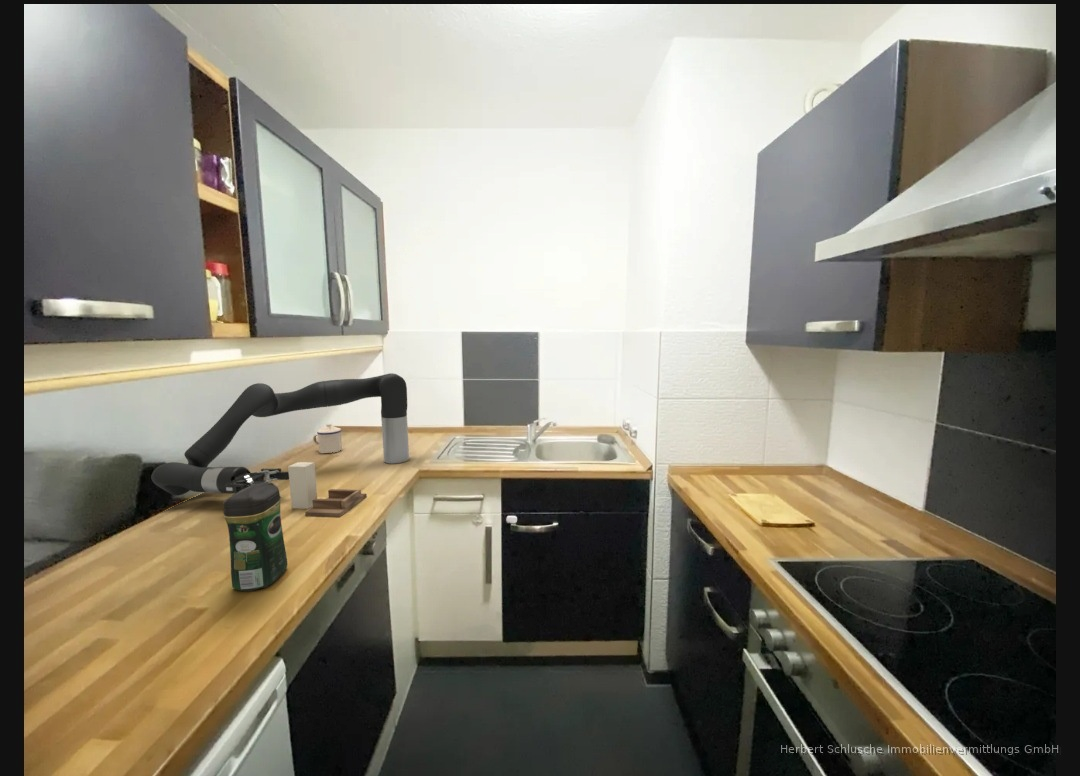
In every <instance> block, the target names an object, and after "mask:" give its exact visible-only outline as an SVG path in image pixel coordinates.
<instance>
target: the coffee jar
mask: <svg viewBox="0 0 1080 776" xmlns="http://www.w3.org/2000/svg"><path fill="white" fill-rule="evenodd" d="M222 506H223V517H224V521H225V522H226V525H227V529H228V539H229V541H228V542H229V555H230V576H231V579H230V580H231V587H232V588H233V589H234V590H237V591H241V592H252V591H253V590H254V591H256V590H259V589H264V588H267V587H268V586H270V585H272V584H273V583H274V582H276V581H277V580H278V579H279V578H280V577H281V576H282V574H283V573H284V572H285V571H286V570H287V567H288V558H287V551H286V545H285V539H284V532H283V526H282V518H281V517H282V516H281V495H280V489H279V487H278V486H277V485H276V484H274V483H273V482H269V483H256V484H251V486H249V487H247V488H245V489H243V490H241V491H239V492H237V493H236V494H233V495H232V494H231V496H229V497H227V498H226V499H224V501H223V504H222Z"/></svg>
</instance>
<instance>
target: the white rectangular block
mask: <svg viewBox="0 0 1080 776" xmlns="http://www.w3.org/2000/svg"><path fill="white" fill-rule="evenodd" d="M315 467H316V466H315V462H307V461H305V462H304V461H302V462H301V461H297V462H295V463H293V464H290V465H288V466H287V470H288V471H287V472H289V482H288V483H289V492H290V501H291V505H290V506H291V509H300V510H301V509H304V510H310V509H311V508H313V502H312V500H314V499H318V493H317V490H318V489H317V480H316V468H315Z"/></svg>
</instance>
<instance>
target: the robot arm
mask: <svg viewBox="0 0 1080 776" xmlns="http://www.w3.org/2000/svg"><path fill="white" fill-rule="evenodd" d="M407 389H408V388H407V382H406V380H405V378H403V377H402V376H401V375H399V374H396V373H393V372H391V373H386V374H381V375H376V376H371V377H368V378H344V379H343V378H342V379H341V378H340V379H330V380H320V381H316V382H314V383H311V384H309V385H306V386H304V387H302V388H300V389H297V390H295V391H290V392H281V393H280V392H279V393H278V392H277V393H275V391H274V390H273V388H272V387H271V386H270V385H268V384H266V383H260V382H258V383H253V384H251V385H249V386H247V387H246V388H245V389H244V390H243V391H242V392H241V394H240V395H239V396H238V398H237V399H236V400H235V401H234V402H233V404H231V406H230V407H229V408H228V409H227V410H226V412H225V413H224V414H223V415H222V416H221V417H220V419H218V421H216V423H215V424H214V425H212V427H210V429H208V430H207V431H206V432H205V433H204V434H203V435H202V436H201V437H200V438H199V439H197V441H195V442H194V443H193V444H192V445H191V446H190V447H188V449H186V451H185V452H184V453H183V455H184V458H185V459H186V460H187V463H184V462H176V461H175V462H174V461H173V462H172V461H171V462H165V463H163V464H161V465H159V466H157V467H156V468H155V469H153V471H152V473H151V475H150V477H151V481H152V483H153V484H154V485H155V486H157V487H159V488H160V489H162V490H164V491H165V492H167V493H169V494H171V495H173V496H177V497H178V496H182V495H185V494H187V493H188V492H190V491H191V492H195V493H212V494H231V495H232V494H233V495H234V494H236V493H237V492H239V491H241V490H243V489H245V488H247V487H249V486H251V484H256V483H271V481H278V480H279V481H280V480H281V481H282V480H283V481H288V480H289V471H282V468H261V469H260V471H258V470H257V471H256V470H255V471H250V470H249V469H248V468H247V467H244V466H213V467H212V466H211V467H210V466H209V464H211V463H212V462H213V461H214V460H216V458H217V457H218V456H219V455H220V454H221V453H223V451H225V449H226V448H227V447H228V446H229V445H230V443H231V442H232V441H233V439H234V437H235V436H236V435H237V432H238V431H239V430H240V428H241V427H242V426H243V424H244V423H245V422H247V420H248V419H249V418H251V417H256V418H268V417H273V416H277V415H281V414H286V413H291V412H295V411H303V410H311V409H319V408H327V407H335V406H342V405H347V404H350V403H353V402H356V401H360V400H363V399H368V398H369V399H370V398H380V403H381V404H380V405H381V407H380V415H381V416H380V417H381V419H380V420H381V435H382V452H383V453H382V454H383V455H382V456H383V462H384V463H385V462H386V464H401V463H405V462H407V461H409V460H410V452H409V451H410V445H409V432H408V431H409V430H408V428H409V426H408V416H407V415H408V412H407V411H408V390H407Z"/></svg>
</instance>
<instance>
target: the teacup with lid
mask: <svg viewBox="0 0 1080 776" xmlns="http://www.w3.org/2000/svg"><path fill="white" fill-rule="evenodd" d="M317 439H318V441H317ZM312 442H313V443H314V444H315V445H316V446H318V452H319V454H321V453H332V452H337V453H339V452H338V451H340V450H341V451H343V441H342V428H340V427H336V426H335V425H333V424H332V423H326V426H323V427H322V428H320V429H318V430H317V432H316V434H314V435H313V437H312ZM341 451H340V452H341ZM332 454H333V453H332Z"/></svg>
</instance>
